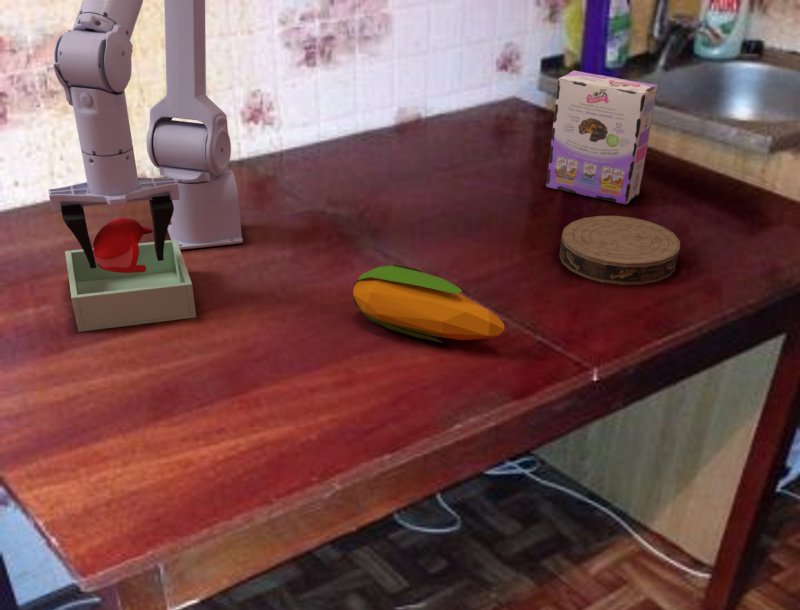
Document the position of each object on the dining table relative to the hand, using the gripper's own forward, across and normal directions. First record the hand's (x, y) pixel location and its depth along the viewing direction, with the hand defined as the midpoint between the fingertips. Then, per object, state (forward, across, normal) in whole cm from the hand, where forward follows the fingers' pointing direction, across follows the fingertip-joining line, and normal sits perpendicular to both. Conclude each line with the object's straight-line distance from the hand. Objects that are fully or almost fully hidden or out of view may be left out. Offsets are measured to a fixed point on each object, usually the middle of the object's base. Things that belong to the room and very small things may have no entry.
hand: (126, 261), depth 120 cm
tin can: (+5, +65, -5) cm, 65 cm away
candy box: (+6, +73, +19) cm, 76 cm away
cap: (+1, -1, 0) cm, 1 cm away
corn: (+5, +33, -18) cm, 38 cm away
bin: (+5, 0, 0) cm, 5 cm away
